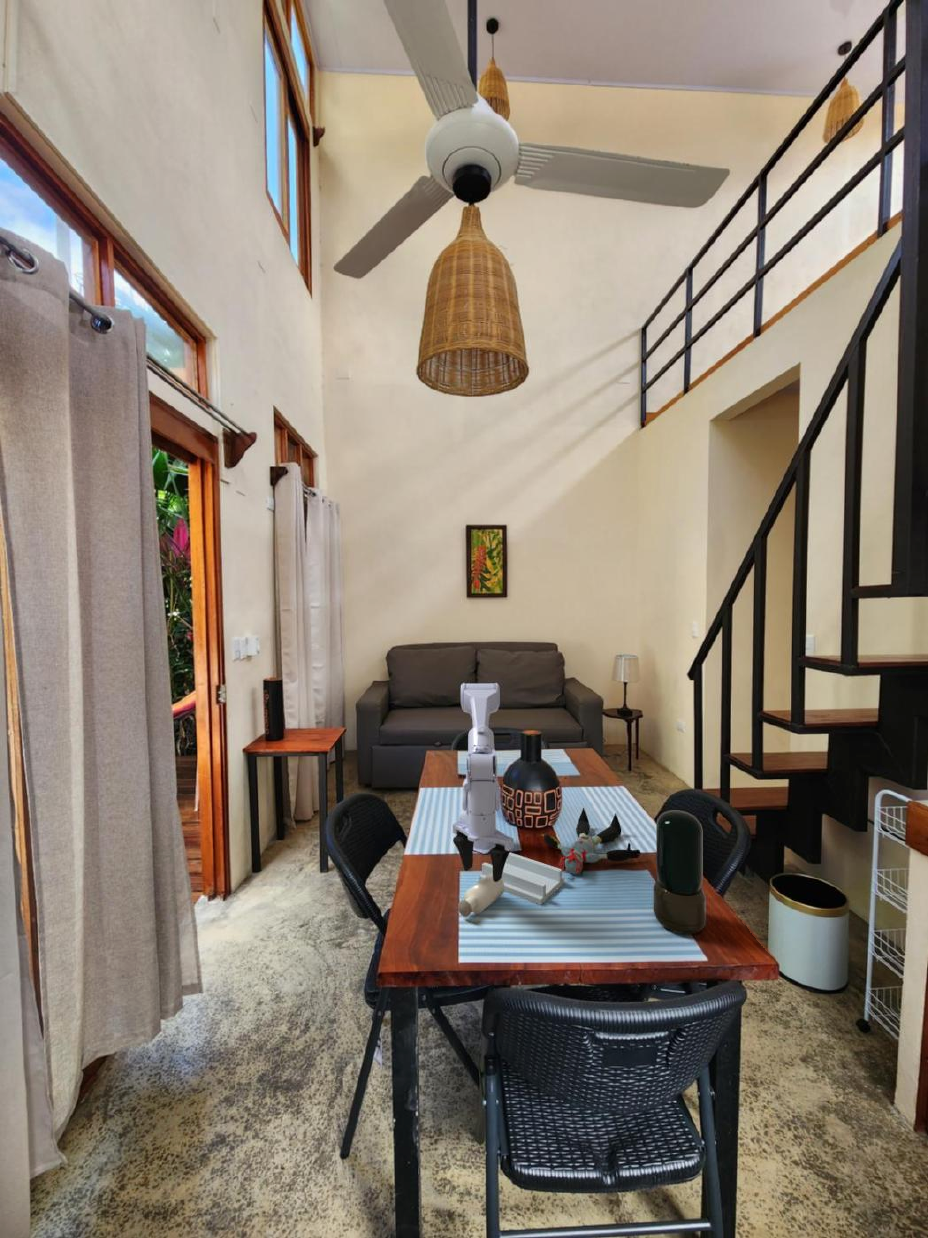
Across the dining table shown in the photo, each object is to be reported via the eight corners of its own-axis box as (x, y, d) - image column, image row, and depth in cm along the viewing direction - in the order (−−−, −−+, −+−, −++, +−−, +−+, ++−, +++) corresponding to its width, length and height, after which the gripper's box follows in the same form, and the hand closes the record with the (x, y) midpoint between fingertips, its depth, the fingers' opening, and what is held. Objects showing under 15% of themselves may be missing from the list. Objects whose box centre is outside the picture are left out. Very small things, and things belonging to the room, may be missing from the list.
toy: (648, 818, 138) (626, 861, 111) (648, 847, 138) (626, 898, 111) (556, 802, 150) (516, 838, 123) (556, 829, 150) (516, 870, 123)
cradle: (479, 881, 118) (478, 866, 118) (505, 862, 127) (505, 848, 127) (540, 905, 109) (540, 889, 109) (564, 882, 117) (564, 867, 117)
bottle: (485, 891, 114) (486, 870, 114) (503, 899, 111) (504, 878, 111) (454, 915, 105) (454, 893, 105) (472, 925, 102) (473, 902, 102)
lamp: (705, 943, 96) (705, 826, 95) (651, 930, 100) (651, 818, 100) (705, 915, 105) (705, 808, 104) (655, 904, 109) (655, 800, 108)
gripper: (443, 808, 110) (444, 871, 110) (500, 825, 101) (500, 893, 101) (463, 798, 116) (464, 858, 116) (519, 813, 107) (519, 878, 107)
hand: (482, 874), depth 109 cm, fingers open, 7 cm apart
